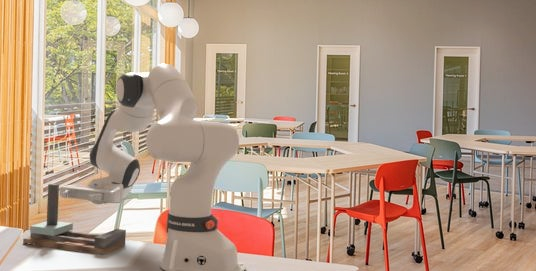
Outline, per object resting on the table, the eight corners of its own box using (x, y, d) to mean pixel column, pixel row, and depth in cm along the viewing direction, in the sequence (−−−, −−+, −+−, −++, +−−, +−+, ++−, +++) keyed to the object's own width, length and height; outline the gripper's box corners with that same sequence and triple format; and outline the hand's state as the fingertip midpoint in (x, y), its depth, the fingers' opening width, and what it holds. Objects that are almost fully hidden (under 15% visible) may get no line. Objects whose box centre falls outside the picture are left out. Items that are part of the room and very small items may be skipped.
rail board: (125, 244, 162) (125, 229, 162) (103, 254, 150) (104, 238, 150) (49, 235, 168) (50, 220, 168) (23, 243, 157) (23, 228, 156)
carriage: (72, 229, 164) (74, 183, 164) (54, 235, 156) (56, 187, 155) (49, 226, 166) (51, 181, 166) (30, 232, 158) (31, 185, 157)
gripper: (74, 179, 188) (49, 183, 175) (127, 184, 183) (105, 189, 170) (73, 197, 189) (48, 203, 175) (126, 203, 184) (104, 209, 170)
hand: (76, 196), depth 173 cm, fingers open, 8 cm apart
